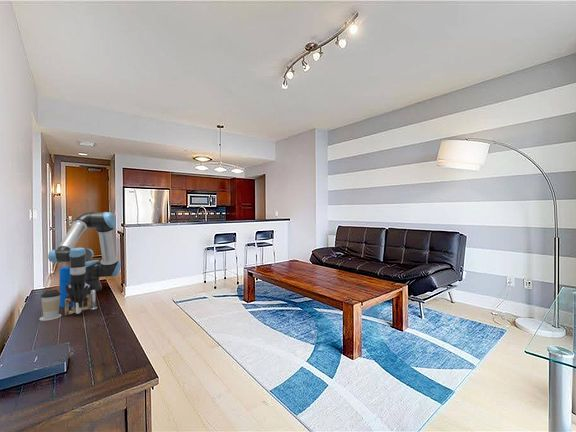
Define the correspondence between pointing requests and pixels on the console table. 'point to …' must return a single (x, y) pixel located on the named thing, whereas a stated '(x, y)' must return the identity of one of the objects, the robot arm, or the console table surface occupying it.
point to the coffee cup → (50, 304)
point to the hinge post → (92, 300)
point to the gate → (74, 305)
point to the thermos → (64, 285)
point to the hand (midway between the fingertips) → (78, 312)
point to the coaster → (50, 318)
